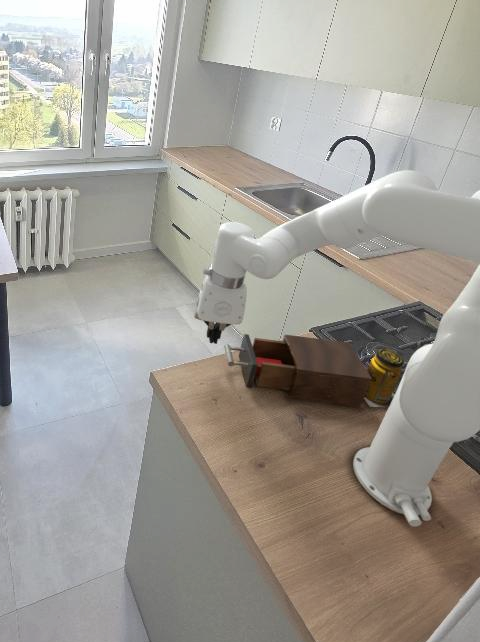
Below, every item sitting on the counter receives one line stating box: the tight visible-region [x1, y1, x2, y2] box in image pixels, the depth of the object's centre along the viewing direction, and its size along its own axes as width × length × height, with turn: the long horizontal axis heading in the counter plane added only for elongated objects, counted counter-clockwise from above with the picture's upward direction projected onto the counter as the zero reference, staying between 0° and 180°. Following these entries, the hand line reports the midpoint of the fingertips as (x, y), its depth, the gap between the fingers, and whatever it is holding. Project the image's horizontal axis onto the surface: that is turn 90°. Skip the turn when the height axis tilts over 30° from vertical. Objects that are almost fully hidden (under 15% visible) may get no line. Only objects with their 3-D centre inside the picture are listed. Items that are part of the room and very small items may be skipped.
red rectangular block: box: [256, 357, 282, 375], centre depth 101 cm, size 7×3×3 cm, turn 83°
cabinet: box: [282, 334, 372, 409], centre depth 100 cm, size 16×12×9 cm
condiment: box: [363, 348, 404, 408], centre depth 97 cm, size 7×8×12 cm
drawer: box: [224, 333, 297, 391], centre depth 101 cm, size 19×10×7 cm, turn 83°
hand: (212, 339), depth 101 cm, fingers closed
